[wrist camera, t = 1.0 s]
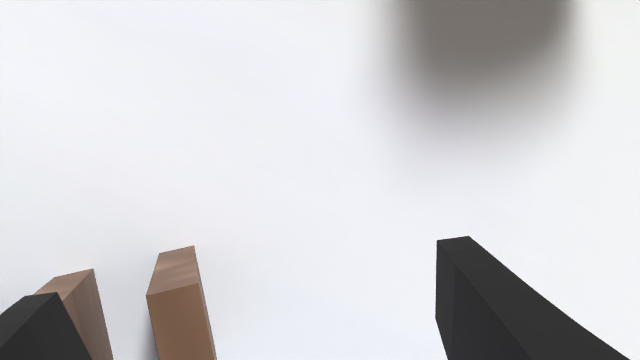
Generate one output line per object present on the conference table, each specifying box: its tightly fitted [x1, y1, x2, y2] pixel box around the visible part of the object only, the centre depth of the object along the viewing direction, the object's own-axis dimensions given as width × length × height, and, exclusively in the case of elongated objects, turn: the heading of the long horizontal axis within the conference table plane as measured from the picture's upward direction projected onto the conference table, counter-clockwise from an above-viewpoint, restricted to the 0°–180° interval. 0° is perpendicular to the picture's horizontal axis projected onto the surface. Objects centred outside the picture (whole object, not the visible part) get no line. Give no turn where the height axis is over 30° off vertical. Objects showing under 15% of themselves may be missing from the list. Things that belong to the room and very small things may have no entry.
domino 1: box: [33, 269, 113, 360], centre depth 17 cm, size 2×5×8 cm, turn 11°
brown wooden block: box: [146, 246, 217, 360], centre depth 19 cm, size 2×5×8 cm, turn 11°
